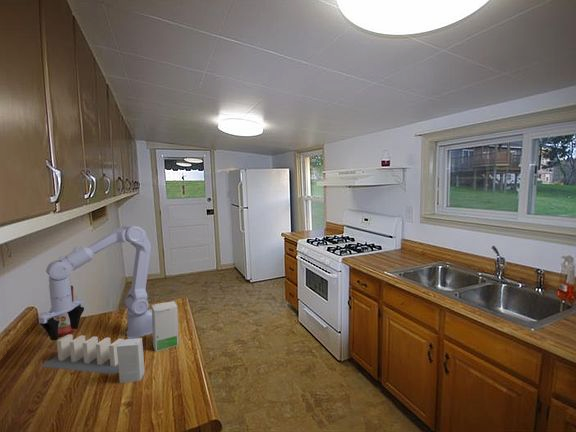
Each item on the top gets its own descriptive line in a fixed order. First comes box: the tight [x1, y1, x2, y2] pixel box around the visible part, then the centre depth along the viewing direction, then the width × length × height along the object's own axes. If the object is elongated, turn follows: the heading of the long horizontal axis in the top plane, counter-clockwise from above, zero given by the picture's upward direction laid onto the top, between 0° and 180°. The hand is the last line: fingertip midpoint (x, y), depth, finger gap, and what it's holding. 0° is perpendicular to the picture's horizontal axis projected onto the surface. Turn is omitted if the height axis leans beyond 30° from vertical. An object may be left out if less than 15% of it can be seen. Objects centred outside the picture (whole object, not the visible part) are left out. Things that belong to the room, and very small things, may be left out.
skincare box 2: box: [151, 301, 180, 352], centre depth 108 cm, size 8×7×16 cm
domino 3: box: [83, 336, 99, 363], centre depth 99 cm, size 2×4×7 cm, turn 170°
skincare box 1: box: [117, 337, 146, 384], centre depth 89 cm, size 6×4×12 cm
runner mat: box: [40, 354, 119, 375], centre depth 99 cm, size 28×12×1 cm, turn 80°
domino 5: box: [109, 338, 124, 366], centre depth 97 cm, size 2×4×7 cm, turn 170°
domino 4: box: [96, 337, 112, 365], centre depth 98 cm, size 2×4×7 cm, turn 170°
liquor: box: [54, 285, 76, 337], centre depth 117 cm, size 7×7×28 cm
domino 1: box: [56, 333, 74, 361], centre depth 101 cm, size 2×4×7 cm, turn 170°
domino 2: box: [70, 334, 86, 362], centre depth 100 cm, size 2×4×7 cm, turn 170°
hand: (64, 333), depth 100 cm, fingers open, 7 cm apart
